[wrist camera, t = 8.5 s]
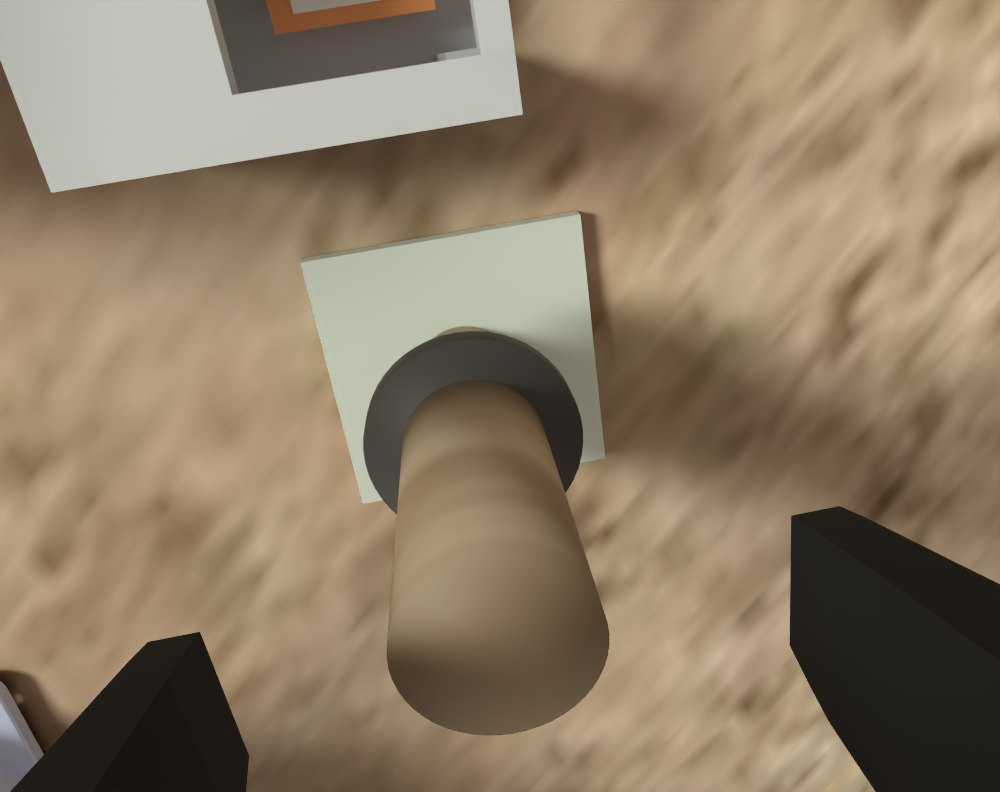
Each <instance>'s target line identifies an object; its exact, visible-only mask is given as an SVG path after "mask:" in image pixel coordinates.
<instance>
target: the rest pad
mask: <svg viewBox="0 0 1000 792" xmlns="http://www.w3.org/2000/svg"><path fill="white" fill-rule="evenodd" d="M300 264H301V268H302V271H303V275H304V279H305V283H306V287H307V291H308V295H309V298H310V302H311V306H312V310H313V314H314V318H315V321H316V325H317V329H318V333H319V337H320V341H321V344H322V348H323V352H324V356H325V360H326V364H327V367H328V371H329V375H330V379H331V383H332V387H333V390H334V394H335V398H336V402H337V406H338V410H339V413H340V417H341V421H342V425H343V429H344V433H345V436H346V440H347V444H348V448H349V452H350V456H351V459H352V463H353V467H354V471H355V475H356V479H357V482H358V486H359V490H360V494H361V498H362V502H363V504H365V503H370V502H375V501H381V500H382V498H381V497H380V495H379V494H378V492H377V491H376V489H375V488H374V486H373V483H372V481H371V479H370V477H369V474H368V471H367V468H366V464H365V459H364V452H363V435H364V428H365V422H366V417H367V412H368V408H369V405H370V401H371V398H372V396H373V394H374V391H375V389H376V387H377V385H378V384H379V382H380V381H381V379H382V377H383V376H384V374H385V373H386V372H387V371H388V370H389V369H390V367H391V366H392V365H393V364H394V363H395V362H396V361H397V360H399V359H400V358H401V357H402V356H403V355H404V354H406V353H407V352H409V351H410V350H412V349H413V348H415V347H416V346H418V345H420V344H422V343H424V342H426V341H428V340H431V339H433V338H434V337H435V336H437V335H438V334H440V333H441V332H443V331H445V330H448V329H451V328H455V327H462V326H471V327H477V328H481V329H484V330H486V331H488V332H492V333H498V334H502V335H505V336H509V337H512V338H515V339H517V340H519V341H522V342H524V343H526V344H528V345H529V346H531V347H533V348H534V349H536V350H538V351H539V352H540V353H541V354H543V355H544V356H545V357H546V358H547V359H549V360H550V361H551V362H552V364H553V365H554V366H555V367H556V368H557V369H558V370H559V372H560V373H561V375H562V376H563V378H564V379H565V381H566V383H567V385H568V387H569V389H570V391H571V393H572V395H573V397H574V399H575V402H576V404H577V407H578V410H579V413H580V416H581V421H582V427H583V449H582V456H581V460H580V463H583V462H588V461H594V460H599V459H604V458H605V449H604V439H603V430H602V420H601V410H600V400H599V391H598V381H597V371H596V361H595V352H594V342H593V332H592V322H591V313H590V303H589V293H588V283H587V273H586V264H585V254H584V244H583V234H582V225H581V215H580V213H578V212H577V211H573V212H568V213H562V214H556V215H550V216H545V217H539V218H533V219H527V220H521V221H516V222H510V223H504V224H498V225H492V226H487V227H481V228H475V229H469V230H463V231H458V232H452V233H446V234H440V235H434V236H429V237H423V238H417V239H411V240H405V241H400V242H394V243H388V244H382V245H376V246H371V247H365V248H359V249H353V250H347V251H342V252H336V253H330V254H324V255H318V256H313V257H307V258H302V260H301V262H300Z"/></svg>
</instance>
